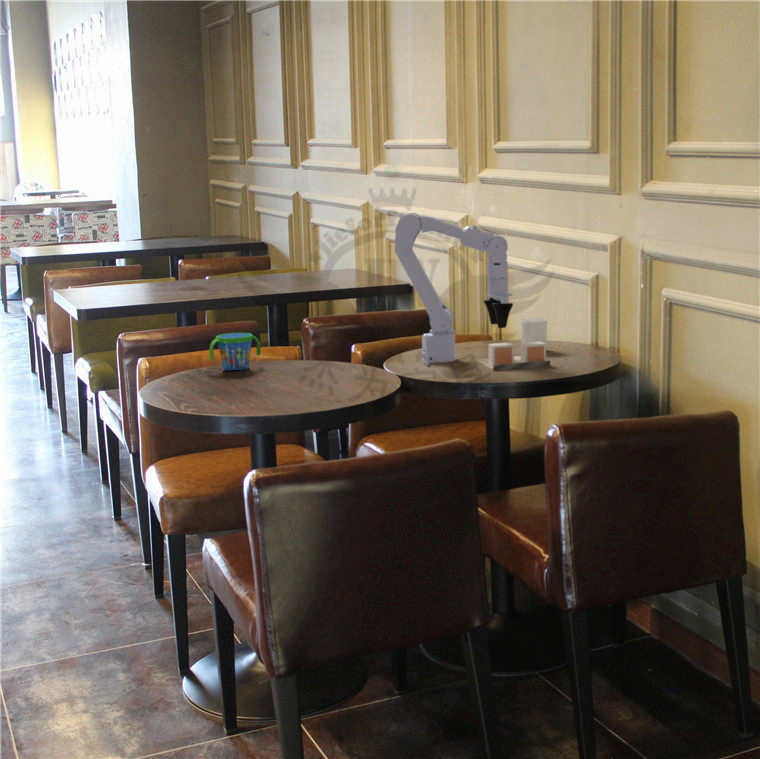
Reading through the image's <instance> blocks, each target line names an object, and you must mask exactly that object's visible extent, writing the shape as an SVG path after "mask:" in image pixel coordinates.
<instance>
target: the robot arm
mask: <svg viewBox="0 0 760 759" xmlns="http://www.w3.org/2000/svg"><path fill="white" fill-rule="evenodd" d="M394 229H395V232H394V233H395V234H394V235H395V236H394V237H395V238H394V254H395V256H397V259H398V260H399V262H400V264H401V266H402V267H403V269H404V271H405V273H406V274H407V277H408V278H409V280H410V282H411V284H412V286H413V287H414V289H415V291H416V292H417V295H418V296H419V298H420V300H421V302H422V303H423V306H424V308H425V310H426V314H427V315H428V318H429V325H430V328H431V329H429V332H428V333H423V334H422V337H421V356H422V359H421V361H422V362H423V364H426V365H427V366H432V363H433V364H434V363H448V362H449V363H450V362H454V361H456V358H457V357H456V332H455V331H456V330H455V329H454V327H453V323H454V319H455V315H454V313H453V311H452V310H451V309H450V308H449V307H447V306H446V305H445V303H444V302H443V300H442V299H441V297H440V296H439V295H438V293H437V291H436V289H435V288H434V286H433V283H432V282H431V280H430V279H429V276H428V274H427V273H426V271H425V269H424V268H423V266H422V264H421V262H420V260H419V259H418V257H417V255H416V253H415V251H414V245H415V243H416V240H417V237H418V235H419V234H420V233H428V232H435V233H439V234H443V235H445V236H450V237H452V238H454V239H459V241H460V243H461V245H462V246H464V247H466V248H470V249H473V250H475V251H479V252H483V253H484V252H487V255H488V256H487V258H488V259H487V263H486V266H487V268H486V269H487V273H486V274H487V275H486V276H487V295H486V297H487V298H488V299H484V300H483V303H484V305H485V306H486V309H487V313H488V317H489V322H490V325H497V328H498V329H502V328H503V329H506V328H507V324H508V319H509V315H510V313H511V310H512V308H513V307H514V304H513V303H512V302H509V297H512V296H513V292H509V285H508V284H509V271H508V268H509V267H508V266H509V264H508V263H509V262H508V255H507V252H508V250H509V249H508V247H509V246H508V242H507V239H506V238H505V237H504V236H502V235H501V234H498V233H497V234H495V233H494V231H486V230H483V229H480V228H479V227H478V225H476V224H473V226H471V225H467V226H465V227H459V226H457V225H454V224H452V223H449V222H446V221H443V220H442V219H439V218H436V217H434V216H430V215H429V216H428V215H426V214H425V215H424V214H420V215H419V214H418V213H415V212H410V213H407V214H404V215H403V216H401V217H400V218H399V220H398V222H397V224H396V226H395V228H394Z"/></svg>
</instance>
